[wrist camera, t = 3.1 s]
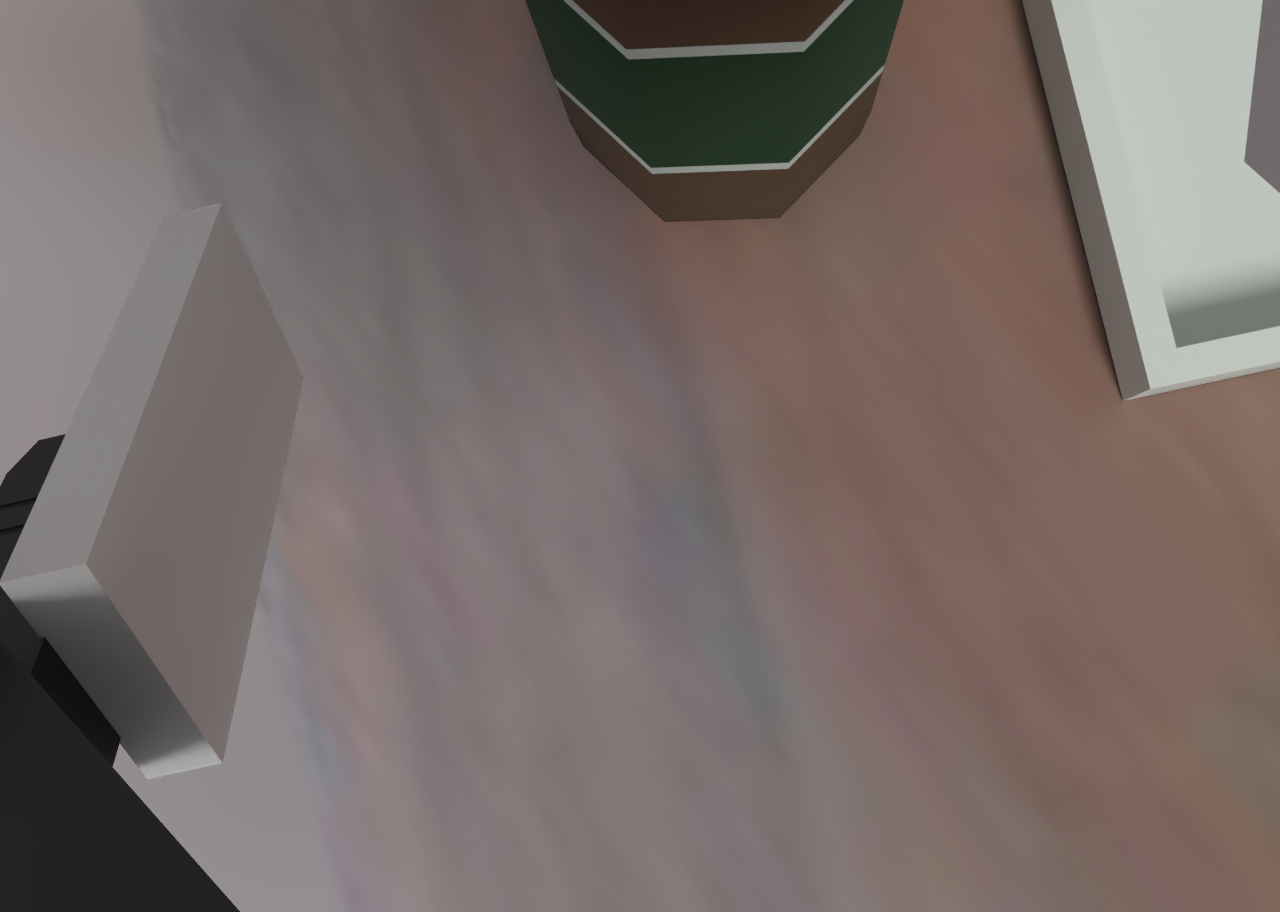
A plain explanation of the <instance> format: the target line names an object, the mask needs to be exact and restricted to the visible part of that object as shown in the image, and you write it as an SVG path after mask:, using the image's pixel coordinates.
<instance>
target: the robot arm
mask: <svg viewBox="0 0 1280 912" xmlns="http://www.w3.org/2000/svg"><path fill="white" fill-rule="evenodd" d="M1244 162H1245V163H1246V164H1247V165H1249V166H1250V167H1251V168H1252V169H1253V170H1254V171H1255V172H1256V173H1257V174H1259V175H1260V176H1261V177H1262V178H1263V179H1264V180H1265V181H1266V182H1268V183H1269V184H1270V185H1271V186H1272V187H1273V188H1274V189H1275V190H1277V191H1278V192H1279V193H1280V0H1263V2H1262V11H1261V19H1260V28H1259V37H1258V46H1257V54H1256V63H1255V72H1254V80H1253V89H1252V98H1251V106H1250V115H1249V124H1248V132H1247V141H1246V150H1245V158H1244ZM303 378H304V377H303V375H302V373H301V371H300V368H299V366H298V364H297V362H296V360H295V358H294V356H293V353H292V351H291V349H290V347H289V345H288V343H287V341H286V338H285V336H284V334H283V332H282V330H281V328H280V326H279V323H278V321H277V319H276V317H275V315H274V313H273V311H272V308H271V306H270V304H269V302H268V300H267V298H266V296H265V293H264V291H263V289H262V287H261V285H260V283H259V281H258V278H257V276H256V274H255V272H254V270H253V268H252V266H251V263H250V261H249V259H248V257H247V255H246V253H245V251H244V248H243V246H242V244H241V242H240V240H239V238H238V235H237V233H236V231H235V229H234V227H233V225H232V223H231V220H230V218H229V216H228V214H227V212H226V210H225V208H224V205H223V203H222V202H221V203H217V204H213V205H209V206H204V207H200V208H196V209H192V210H188V211H183V212H179V213H175V214H171V215H167V216H164V217H163V219H162V221H161V224H160V226H159V228H158V230H157V232H156V235H155V237H154V239H153V241H152V244H151V246H150V248H149V250H148V253H147V255H146V257H145V259H144V261H143V264H142V266H141V268H140V270H139V272H138V275H137V277H136V279H135V281H134V284H133V286H132V288H131V290H130V292H129V295H128V297H127V299H126V301H125V304H124V306H123V308H122V310H121V313H120V315H119V317H118V319H117V322H116V324H115V326H114V328H113V330H112V333H111V335H110V337H109V339H108V341H107V344H106V346H105V348H104V350H103V353H102V355H101V357H100V359H99V362H98V364H97V366H96V368H95V370H94V373H93V375H92V377H91V379H90V382H89V384H88V386H87V388H86V390H85V393H84V395H83V397H82V399H81V402H80V404H79V406H78V408H77V410H76V413H75V415H74V417H73V419H72V421H71V424H70V426H69V428H68V431H67V433H66V434H64V435H60V436H56V437H51V438H47V439H43V440H39V441H38V442H37V443H36V444H35V445H34V446H33V447H32V448H31V449H30V450H29V451H28V452H27V453H26V454H25V455H24V456H23V457H22V458H21V459H20V460H19V462H18V463H17V464H16V465H15V466H14V467H13V468H12V469H11V470H10V471H9V472H8V473H7V474H6V476H5V478H4V480H3V482H2V484H1V486H0V912H240V911H239V910H238V909H237V908H236V907H235V906H234V905H233V903H232V902H231V901H230V900H229V899H228V898H227V896H226V895H225V894H224V893H223V892H222V891H221V890H220V889H219V888H218V886H217V885H216V884H215V883H214V882H213V881H212V880H211V878H210V877H209V876H208V875H207V874H206V873H205V872H204V870H203V869H202V868H201V867H200V866H199V865H198V864H197V862H195V860H194V859H193V858H192V857H191V856H190V855H189V854H188V852H187V851H186V850H185V849H184V848H183V847H182V846H181V844H179V842H178V841H177V840H176V839H175V838H174V836H173V835H172V834H171V833H170V832H169V831H168V830H167V829H166V827H165V826H164V825H163V824H162V823H161V822H160V821H159V819H158V818H157V817H156V816H155V815H154V814H153V813H152V812H151V810H150V809H149V808H148V807H147V806H146V805H145V804H144V802H143V801H142V800H141V799H140V798H139V797H138V796H137V795H136V793H135V792H134V791H133V790H132V789H131V788H130V787H129V786H128V784H127V783H126V782H125V781H124V780H123V779H122V777H121V776H120V775H119V774H118V773H117V772H116V771H115V770H114V768H113V763H114V760H115V756H116V753H117V750H118V746H119V743H120V744H121V745H122V747H123V748H124V749H125V750H126V752H127V753H128V754H129V756H130V757H131V758H132V760H133V761H134V762H135V764H136V765H137V766H138V767H139V769H140V770H141V772H142V773H143V774H144V775H145V777H146V778H147V779H150V778H155V777H160V776H165V775H169V774H174V773H179V772H183V771H188V770H192V769H198V768H202V767H207V766H211V765H216V764H221V763H223V758H224V753H225V749H226V744H227V739H228V734H229V730H230V725H231V720H232V715H233V711H234V706H235V701H236V696H237V691H238V687H239V682H240V677H241V673H242V668H243V663H244V658H245V653H246V649H247V644H248V639H249V635H250V630H251V625H252V620H253V616H254V611H255V606H256V601H257V597H258V592H259V587H260V582H261V578H262V573H263V568H264V563H265V559H266V554H267V549H268V544H269V540H270V535H271V530H272V525H273V521H274V516H275V511H276V506H277V501H278V497H279V492H280V487H281V482H282V478H283V473H284V468H285V463H286V459H287V454H288V449H289V444H290V440H291V435H292V430H293V425H294V421H295V416H296V411H297V406H298V402H299V397H300V392H301V387H302V383H303Z"/></svg>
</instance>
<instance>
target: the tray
mask: <svg viewBox="0 0 1280 912" xmlns="http://www.w3.org/2000/svg"><path fill="white" fill-rule="evenodd" d="M1262 2H1263V0H1022V3H1023V7H1024V11H1025V15H1026V19H1027V23H1028V27H1029V31H1030V35H1031V39H1032V42H1033V46H1034V50H1035V54H1036V58H1037V62H1038V66H1039V70H1040V74H1041V78H1042V82H1043V86H1044V90H1045V94H1046V98H1047V102H1048V106H1049V110H1050V114H1051V118H1052V122H1053V126H1054V130H1055V134H1056V138H1057V141H1058V145H1059V149H1060V153H1061V157H1062V161H1063V165H1064V169H1065V173H1066V177H1067V181H1068V185H1069V189H1070V193H1071V197H1072V201H1073V205H1074V209H1075V213H1076V217H1077V221H1078V225H1079V229H1080V233H1081V237H1082V240H1083V244H1084V248H1085V252H1086V256H1087V260H1088V264H1089V268H1090V272H1091V276H1092V280H1093V284H1094V288H1095V292H1096V296H1097V300H1098V304H1099V308H1100V312H1101V316H1102V320H1103V324H1104V328H1105V332H1106V335H1107V339H1108V343H1109V347H1110V351H1111V355H1112V359H1113V363H1114V367H1115V371H1116V375H1117V379H1118V383H1119V387H1120V391H1121V395H1122V399H1123V401H1125V400H1130V399H1135V398H1139V397H1144V396H1149V395H1153V394H1158V393H1163V392H1168V391H1172V390H1177V389H1182V388H1186V387H1191V386H1196V385H1200V384H1205V383H1210V382H1215V381H1219V380H1224V379H1229V378H1233V377H1238V376H1243V375H1248V374H1252V373H1257V372H1262V371H1266V370H1271V369H1276V368H1280V193H1279V192H1278V191H1277V190H1275V189H1274V188H1273V187H1272V186H1271V185H1270V184H1269V183H1268V182H1266V181H1265V180H1264V179H1263V178H1262V177H1261V176H1260V175H1259V174H1257V173H1256V172H1255V171H1254V170H1253V169H1252V168H1251V167H1250V166H1249V165H1247V164H1246V163H1245V162H1244V158H1245V150H1246V141H1247V132H1248V124H1249V115H1250V106H1251V98H1252V89H1253V80H1254V72H1255V63H1256V54H1257V46H1258V37H1259V28H1260V19H1261V11H1262Z"/></svg>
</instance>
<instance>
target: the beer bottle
mask: <svg viewBox="0 0 1280 912" xmlns="http://www.w3.org/2000/svg"><path fill="white" fill-rule="evenodd" d="M903 1H904V0H526V3H527V6H528V8H529V11H530V14H531V17H532V19H533V22H534V25H535V28H536V30H537V33H538V36H539V38H540V41H541V44H542V47H543V49H544V52H545V55H546V57H547V60H548V63H549V66H550V68H551V71H552V74H553V77H554V79H555V82H556V85H557V87H558V90H559V93H560V96H561V98H562V101H563V104H564V106H565V109H566V112H567V115H568V117H569V120H570V123H571V125H572V127H573V128H574V130H575V132H576V134H577V136H578V137H579V139H580V141H581V143H582V145H583V146H584V147H585V148H586V149H587V150H588V151H589V152H590V153H591V154H592V155H593V156H594V157H595V158H596V159H598V160H599V161H600V162H601V163H602V164H603V165H604V166H605V167H606V168H607V169H608V170H609V171H610V172H611V173H613V174H614V175H615V176H616V177H617V178H618V179H619V180H620V181H621V182H622V183H623V184H624V185H625V186H627V187H628V188H629V189H630V190H631V191H632V192H633V193H634V194H635V195H636V196H637V197H638V198H639V199H640V200H642V201H643V202H644V203H645V204H646V205H647V206H648V207H649V208H650V209H651V210H652V211H653V212H654V213H656V214H657V215H658V216H659V217H660V218H661V219H662V220H663V221H664V222H675V221H704V220H733V219H762V218H780V217H781V216H782V215H783V214H784V213H785V212H786V211H787V210H788V209H789V208H790V206H791V205H792V204H793V203H794V202H795V201H796V200H797V199H798V198H799V197H800V196H801V195H802V194H803V193H804V192H805V191H806V190H807V189H808V188H809V187H810V186H811V185H812V184H813V183H814V182H815V181H816V180H817V179H818V178H819V177H820V176H821V175H822V174H823V172H824V171H825V170H826V169H827V168H828V167H829V166H830V165H831V164H832V163H833V162H834V161H835V160H836V159H837V158H838V157H839V156H840V155H841V154H842V153H843V152H844V151H845V150H846V149H847V148H848V147H849V146H850V145H851V144H852V143H853V142H854V141H855V139H856V138H857V137H858V136H859V135H860V133H861V131H862V129H863V127H864V124H865V122H866V120H867V118H868V116H869V114H870V112H871V109H872V105H873V102H874V99H875V95H876V92H877V89H878V85H879V82H880V78H881V75H882V72H883V68H884V65H885V62H886V58H887V55H888V51H889V48H890V45H891V41H892V38H893V35H894V31H895V28H896V25H897V21H898V18H899V14H900V11H901V8H902V4H903Z"/></svg>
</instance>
